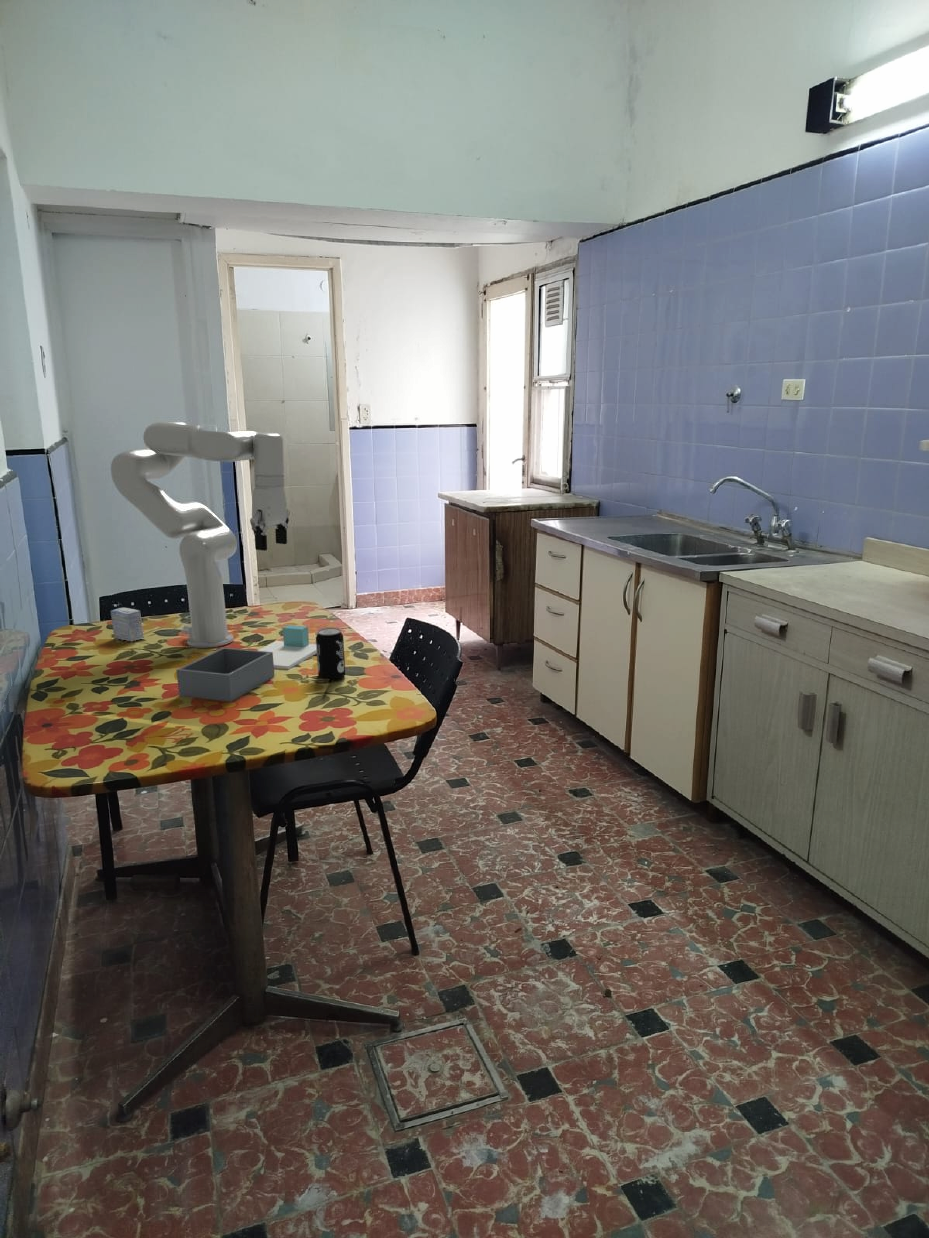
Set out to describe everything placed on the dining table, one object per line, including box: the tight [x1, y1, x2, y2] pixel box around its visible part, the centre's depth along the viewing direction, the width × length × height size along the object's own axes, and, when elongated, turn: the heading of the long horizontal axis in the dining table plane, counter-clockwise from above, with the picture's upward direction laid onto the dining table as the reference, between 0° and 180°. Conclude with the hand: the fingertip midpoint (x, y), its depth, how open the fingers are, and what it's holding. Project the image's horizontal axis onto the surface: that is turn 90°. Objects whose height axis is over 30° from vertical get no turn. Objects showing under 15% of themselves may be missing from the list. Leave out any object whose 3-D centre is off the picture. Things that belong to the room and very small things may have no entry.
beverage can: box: [315, 627, 346, 682], centre depth 198 cm, size 7×7×12 cm
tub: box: [175, 646, 276, 703], centre depth 193 cm, size 14×18×7 cm
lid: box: [256, 624, 317, 670], centre depth 215 cm, size 15×19×7 cm
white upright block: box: [110, 607, 145, 642], centre depth 235 cm, size 8×4×9 cm, turn 58°
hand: (271, 546), depth 217 cm, fingers open, 9 cm apart
